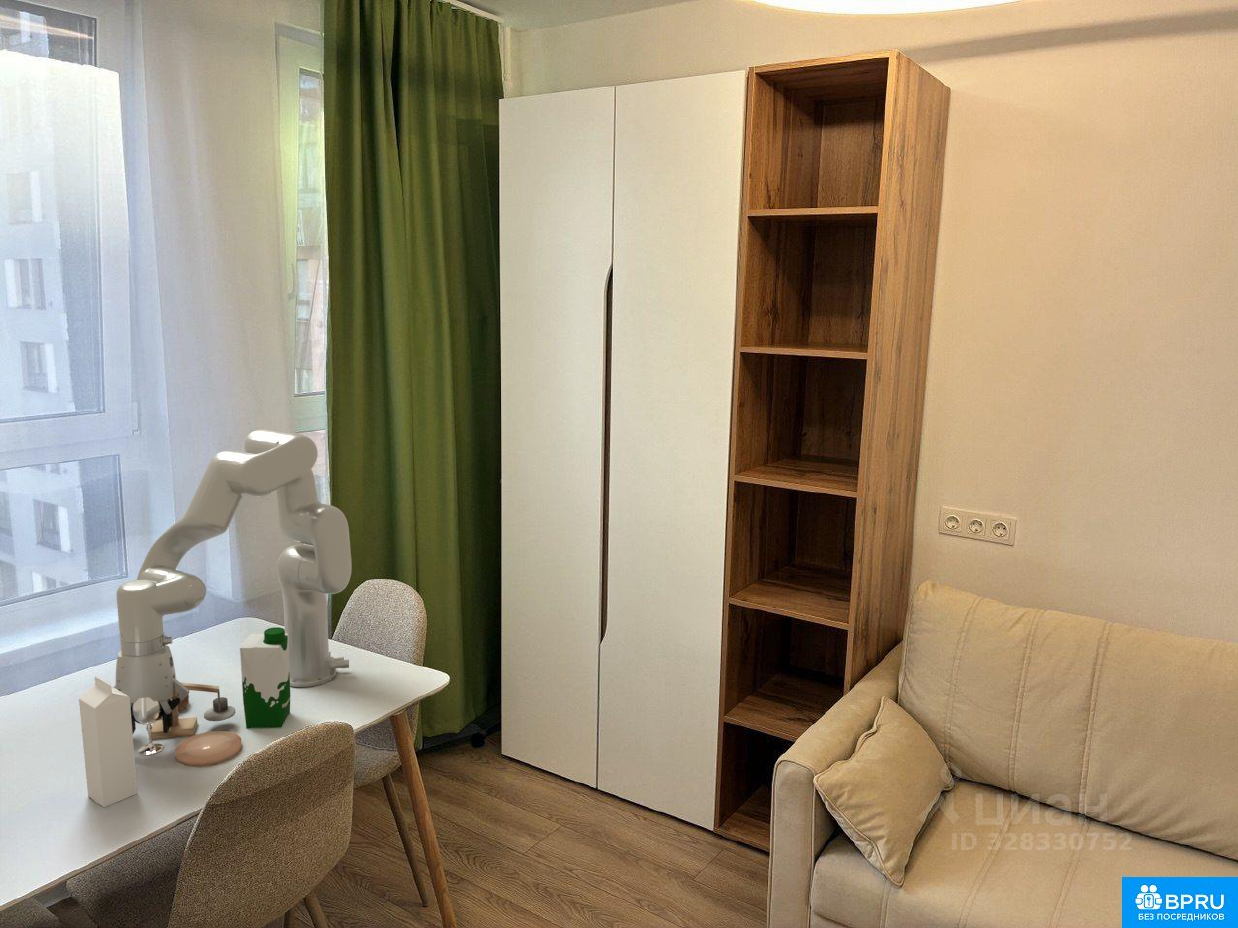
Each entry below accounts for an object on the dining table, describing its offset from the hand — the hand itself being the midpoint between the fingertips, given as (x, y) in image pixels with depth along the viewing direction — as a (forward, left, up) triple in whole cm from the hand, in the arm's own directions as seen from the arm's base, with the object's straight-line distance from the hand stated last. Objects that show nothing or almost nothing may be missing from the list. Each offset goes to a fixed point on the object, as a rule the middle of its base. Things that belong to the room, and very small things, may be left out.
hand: (149, 730), depth 183 cm
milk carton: (-21, -8, -4) cm, 23 cm away
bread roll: (+1, -19, -4) cm, 19 cm away
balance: (-3, -7, -4) cm, 9 cm away
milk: (+3, +16, -4) cm, 17 cm away
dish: (-11, +3, -4) cm, 12 cm away
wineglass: (0, 0, -4) cm, 4 cm away
